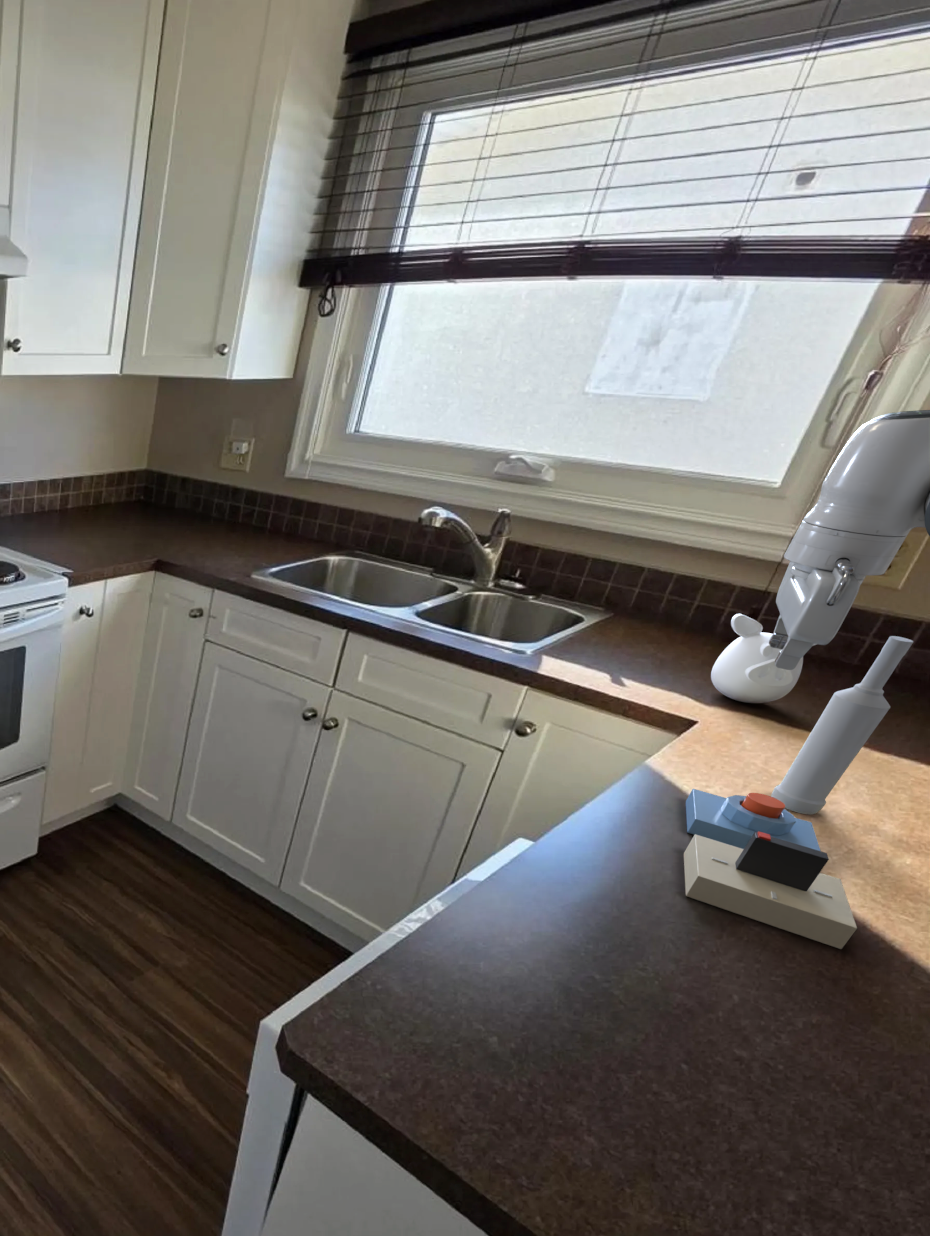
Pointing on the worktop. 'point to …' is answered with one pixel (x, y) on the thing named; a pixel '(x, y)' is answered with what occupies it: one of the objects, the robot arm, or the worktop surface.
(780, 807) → the button
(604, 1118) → the worktop surface
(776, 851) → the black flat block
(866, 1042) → the worktop surface
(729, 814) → the button housing
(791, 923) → the box
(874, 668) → the bottle
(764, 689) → the piggy bank
